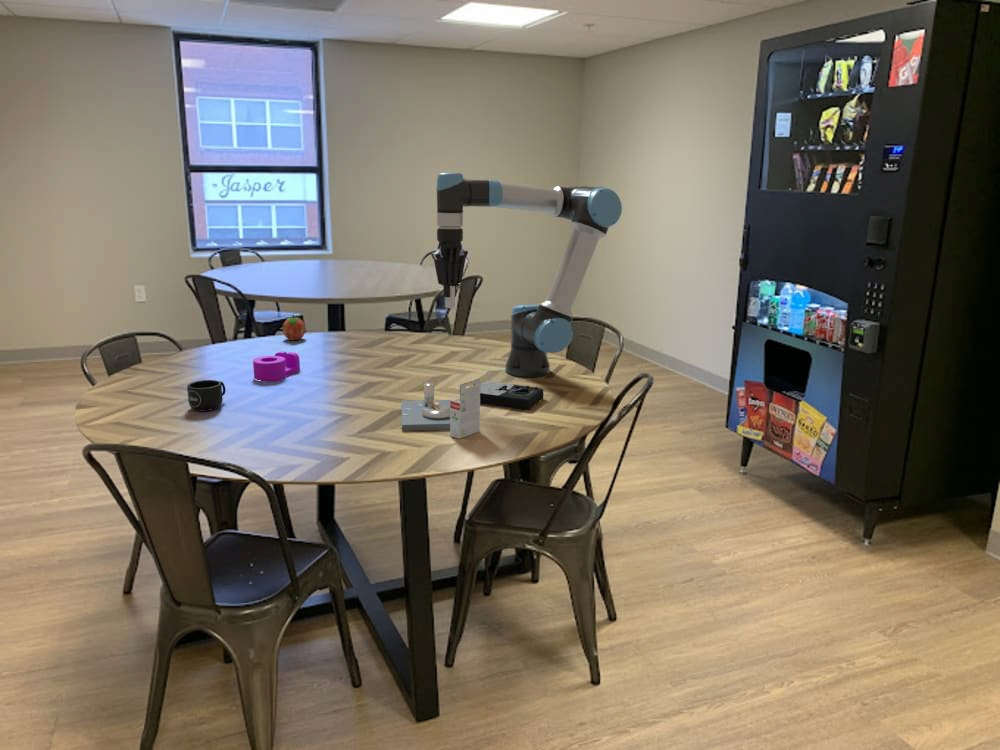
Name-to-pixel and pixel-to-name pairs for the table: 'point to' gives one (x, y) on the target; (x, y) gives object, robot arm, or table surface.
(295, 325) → the fruit
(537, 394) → the multimeter
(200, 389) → the mug
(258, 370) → the tape dispenser
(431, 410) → the dial
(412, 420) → the panel
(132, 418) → the table surface
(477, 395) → the ink box
